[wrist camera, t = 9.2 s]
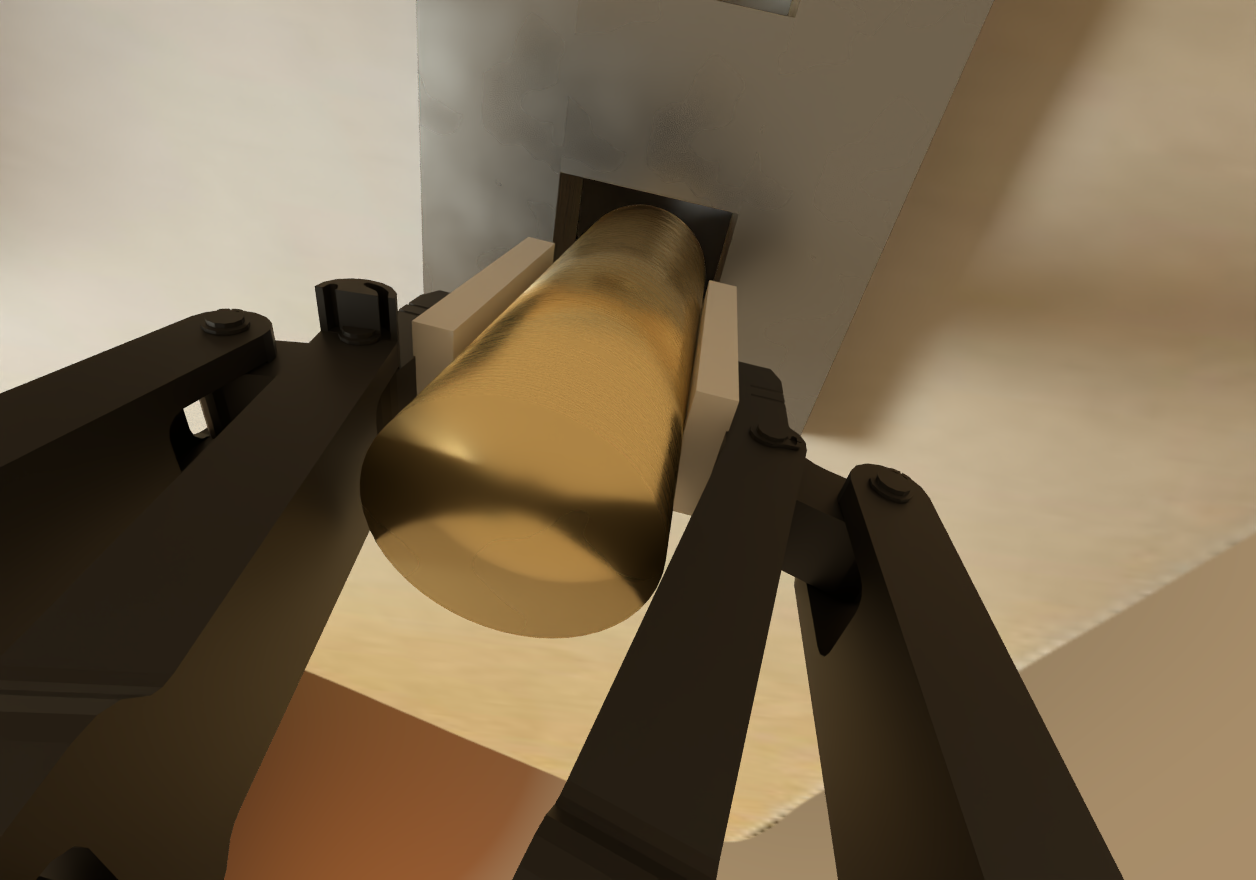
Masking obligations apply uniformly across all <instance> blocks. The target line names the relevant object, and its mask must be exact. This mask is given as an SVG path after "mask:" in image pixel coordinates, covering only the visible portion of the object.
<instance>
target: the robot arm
mask: <svg viewBox="0 0 1256 880" xmlns="http://www.w3.org/2000/svg"><path fill="white" fill-rule="evenodd" d="M554 247H555V243H552V242H548V241H544V240H540V239H535V238H531V237H527V238H526V239H525V240H523V241H522V242H521V243H519V244H518V245H516V246H515V247H514V248H512V249H511V250H509V251H508V252H507V253H505V254H504V255H502V256H501V257H500V258H498V259H497V260H496V261H494V262H493V263H491V264H490V265H489V266H487V267H486V268H484V269H483V270H482V271H480V272H479V273H478V274H476V275H475V276H473V277H472V278H471V279H469V280H468V281H466V282H465V283H464V284H462V285H461V286H460V287H458V288H457V289H455V290H454V291H453V292H451V293H449V292H445V291H441V290H438V291H434V292H430V293H427V294H423V295H420V296H419V297H417V298H415V299H414V300H412V301H411V302H409V305H407V304H406V305H405V306H403V307H402V308H400V309H399V311H398V309H397V293H396V292H395V291H394V290H393V288H392V287H389V286H387V285H385V284H383V283H380V282H375V281H371V280H365V279H353V278H351V279H335V280H330V281H326V282H322V283H320V284H318V285H316V286H315V292H316V299H317V306H318V313H319V320H320V327H321V331H320V332H319V333H318V334H317V335H316V336H315V337H314V338H313V339H312V340H311V341H310V342H309V343H301V342H288V341H276V340H275V337H274V332H273V327H272V323H271V322H270V320H269V319H268V318H267V317H265V316H262V315H260V314H257V313H253V312H247V311H243V310H241V309H232V310H230V309H219V310H217V311H212V312H205V313H201V314H198V315H194V316H191V317H188V318H186V319H183V320H181V321H178V322H176V323H174V324H171V325H169V326H166V327H164V328H161V329H159V330H156V331H154V332H151V333H149V334H146V335H144V336H141V337H139V338H136V339H134V340H131V341H129V342H127V343H124V344H122V345H119V346H117V347H114V348H112V349H109V350H107V351H104V352H102V353H99V354H97V355H94V356H92V357H89V358H87V359H85V360H82V361H80V362H77V363H75V364H72V365H70V366H67V367H65V368H62V369H60V370H57V371H55V372H52V373H50V374H47V375H45V376H43V377H40V378H38V379H35V380H33V381H30V382H28V383H25V384H23V385H20V386H18V387H15V388H13V389H10V390H8V391H5V392H3V393H0V880H224V877H225V873H226V868H227V860H228V851H229V843H230V837H231V833H232V829H233V826H234V823H235V820H236V818H237V815H238V813H239V810H240V808H241V806H242V803H243V801H244V799H245V797H246V795H247V793H248V790H249V788H250V786H251V784H252V782H253V780H254V778H255V775H256V773H257V771H258V769H259V767H260V765H261V763H262V760H263V758H264V756H265V754H266V752H267V750H268V748H269V745H270V743H271V741H272V739H273V737H274V735H275V733H276V730H277V728H278V726H279V724H280V721H281V720H282V717H283V715H284V713H285V711H286V709H287V707H288V704H289V702H290V700H291V698H292V696H293V694H294V692H295V690H296V687H297V685H298V683H299V681H300V679H301V676H302V675H303V672H304V670H305V668H306V666H307V664H308V662H309V659H310V657H311V655H312V653H313V651H314V649H315V647H316V644H317V642H318V640H319V638H320V636H321V634H322V632H323V629H324V627H325V625H326V623H327V621H328V619H329V616H330V614H331V612H332V610H333V608H334V606H335V604H336V601H337V599H338V597H339V595H340V593H341V591H342V589H343V586H344V584H345V582H346V580H347V578H348V576H349V574H350V571H351V569H352V567H353V565H354V563H355V561H356V558H357V556H358V554H359V552H360V550H361V548H362V546H363V543H364V541H365V539H366V537H367V535H368V533H369V531H370V529H369V527H368V524H367V521H366V518H365V516H364V513H363V508H362V503H361V498H360V476H361V469H362V464H363V462H364V459H365V456H366V453H367V451H368V449H369V447H370V446H371V444H372V442H373V440H374V439H375V437H376V436H377V435H378V434H379V433H380V432H381V431H382V429H383V428H384V427H385V426H386V425H387V424H388V423H389V422H390V421H391V420H392V419H393V418H394V417H395V416H396V415H397V414H398V413H399V412H401V411H402V410H403V409H404V408H405V407H406V406H407V405H408V404H409V403H410V402H411V401H412V400H413V399H414V398H415V397H416V396H417V395H418V394H419V393H420V392H421V391H422V390H423V389H424V388H425V387H426V386H427V385H428V384H429V383H430V382H431V381H432V380H434V379H435V378H436V377H437V376H438V375H439V374H440V373H441V372H442V371H443V370H444V369H445V368H446V367H447V366H448V365H449V364H450V363H451V362H452V361H453V360H454V359H455V358H456V357H457V356H458V355H459V354H460V353H461V352H462V351H463V350H464V349H465V348H466V347H468V346H469V345H470V344H471V343H472V342H473V341H474V340H475V339H476V338H477V337H478V336H479V335H480V334H481V333H482V332H483V331H484V330H485V329H486V328H487V327H488V326H489V325H490V324H491V323H492V322H493V321H494V320H495V319H496V318H497V317H498V316H499V315H500V314H502V313H503V312H504V311H505V310H506V309H507V308H508V307H509V306H510V305H511V304H512V303H513V302H514V301H515V300H516V299H517V298H518V297H519V296H520V295H521V294H522V293H523V292H524V291H525V290H526V289H527V288H528V287H529V286H530V285H531V284H532V283H533V282H535V281H536V280H537V279H538V278H539V277H540V276H541V275H542V274H543V273H544V272H545V271H546V270H547V269H548V268H549V267H550V266H551V265H552V264H553V256H554ZM198 400H199V401H200V404H201V408H202V411H203V414H204V418H205V421H206V424H207V428H206V429H204V430H203V431H201V432H200V433H197V434H194V435H193V433H192V432H191V431H190V429H189V426H188V422H187V419H186V416H185V413H184V410H183V408H185V407H187V406H189V405H190V404H192V403H194V402H196V401H198ZM784 403H785V400H784V395H783V388H782V382H781V380H780V379H779V378H778V377H777V376H776V374H775V373H774V372H773V371H772V370H771V369H768V368H764V367H760V366H756V365H752V364H748V363H744V362H740V361H738V329H737V287H736V286H732V285H728V284H723V283H719V282H715V281H711V280H709V284H708V287H707V291H706V295H705V298H704V302H703V305H702V309H701V313H700V319H699V326H698V333H697V340H696V347H695V354H694V361H693V368H692V375H691V382H690V389H689V396H688V403H687V410H686V417H685V424H684V431H683V441H682V449H681V456H680V463H679V470H678V477H677V484H676V491H675V498H674V505H673V511H676V512H679V513H683V514H687V515H691V518H690V521H689V523H688V525H687V527H686V529H685V531H684V533H683V535H682V538H681V540H680V542H679V544H678V546H677V548H676V550H675V552H674V555H673V557H672V559H671V561H670V563H669V565H668V567H667V569H666V572H665V574H664V576H663V578H662V580H661V582H660V584H659V586H658V589H657V591H656V593H655V595H654V597H653V599H652V601H651V603H650V606H649V608H648V610H647V612H646V614H645V616H644V618H643V620H642V623H641V625H640V627H639V629H638V631H637V633H636V635H635V637H634V640H633V642H632V644H631V646H630V648H629V650H628V652H627V654H626V657H625V659H624V661H623V663H622V665H621V667H620V669H619V671H618V674H617V676H616V678H615V680H614V682H613V684H612V686H611V688H610V691H609V693H608V695H607V697H606V699H605V701H604V703H603V705H602V708H601V710H600V712H599V714H598V716H597V718H596V720H595V722H594V725H593V727H592V729H591V731H590V733H589V735H588V737H587V739H586V742H585V744H584V746H583V748H582V750H581V752H580V754H579V756H578V759H577V761H576V763H575V765H574V767H573V769H572V771H571V773H570V776H569V778H568V780H567V782H566V784H565V786H564V788H563V790H562V792H561V794H560V796H559V798H558V799H557V801H556V803H555V805H554V806H553V807H552V808H551V810H550V811H549V812H548V813H547V814H546V816H545V817H544V819H543V821H542V823H541V824H540V826H539V828H538V830H537V831H536V833H535V835H534V837H533V839H532V841H531V843H530V845H529V847H528V849H527V851H526V853H525V855H524V857H523V859H522V861H521V863H520V865H519V867H518V869H517V871H516V873H515V875H514V877H513V879H512V880H716V877H717V871H718V865H719V861H720V856H721V851H722V847H723V842H724V837H725V832H726V828H727V823H728V818H729V814H730V809H731V804H732V800H733V795H734V790H735V785H736V781H737V776H738V771H739V767H740V762H741V757H742V753H743V748H744V743H745V738H746V734H747V729H748V724H749V720H750V715H751V710H752V706H753V701H754V696H755V692H756V687H757V682H758V677H759V673H760V668H761V663H762V659H763V654H764V649H765V645H766V640H767V635H768V630H769V626H770V621H771V616H772V612H773V607H774V602H775V598H776V593H777V588H778V583H779V579H780V574H781V570H782V571H784V572H786V573H788V574H790V575H792V576H794V577H795V582H794V587H795V594H796V600H797V607H798V614H799V620H800V627H801V634H802V641H803V647H804V654H805V661H806V667H807V674H808V681H809V688H810V694H811V701H812V708H813V715H814V721H815V728H816V735H817V741H818V748H819V755H820V762H821V768H822V775H823V782H824V788H825V795H826V802H827V808H828V815H829V821H830V829H831V835H832V842H833V849H834V856H835V862H836V869H837V876H838V880H1124V879H1123V877H1122V875H1121V873H1120V871H1119V869H1118V867H1117V865H1116V863H1115V861H1114V859H1113V857H1112V855H1111V853H1110V851H1109V849H1108V847H1107V845H1106V843H1105V841H1104V839H1103V838H1102V835H1101V834H1100V832H1099V830H1098V828H1097V826H1096V824H1095V822H1094V820H1093V818H1092V816H1091V814H1090V812H1089V810H1088V808H1087V806H1086V804H1085V802H1084V801H1083V798H1082V796H1081V794H1080V792H1079V790H1078V788H1077V787H1076V784H1075V783H1074V781H1073V779H1072V777H1071V775H1070V773H1069V771H1068V769H1067V767H1066V765H1065V763H1064V761H1063V759H1062V757H1061V755H1060V753H1059V751H1058V749H1057V747H1056V745H1055V743H1054V741H1053V739H1052V737H1051V735H1050V734H1049V731H1048V730H1047V728H1046V726H1045V724H1044V722H1043V720H1042V718H1041V716H1040V714H1039V712H1038V710H1037V708H1036V706H1035V704H1034V702H1033V700H1032V698H1031V696H1030V694H1029V692H1028V690H1027V689H1026V686H1025V685H1024V682H1023V681H1022V679H1021V677H1020V675H1019V673H1018V671H1017V669H1016V667H1015V665H1014V663H1013V661H1012V659H1011V657H1010V655H1009V653H1008V651H1007V649H1006V647H1005V645H1004V643H1003V641H1002V639H1001V637H1000V635H999V633H998V631H997V629H996V627H995V626H994V624H993V622H992V620H991V618H990V616H989V614H988V612H987V610H986V608H985V606H984V604H983V602H982V600H981V598H980V596H979V594H978V592H977V590H976V588H975V586H974V584H973V582H972V580H971V578H970V576H969V575H968V573H967V571H966V569H965V567H964V565H963V563H962V561H961V559H960V557H959V555H958V553H957V551H956V549H955V547H954V545H953V543H952V541H951V539H950V537H949V535H948V533H947V531H946V529H945V527H944V525H943V523H942V522H941V520H940V518H939V516H938V514H937V512H936V510H935V508H934V506H933V504H932V502H931V500H930V498H929V497H928V495H927V494H926V493H925V491H924V490H923V489H922V488H921V487H920V486H919V485H918V484H916V483H915V482H914V481H913V480H911V478H910V477H908V476H907V475H905V474H903V473H902V474H901V473H900V471H897V470H895V469H892V468H887V467H884V466H881V465H874V464H862V465H857V466H855V467H854V468H853V469H852V470H851V472H850V473H849V475H848V477H847V479H846V478H844V477H841V476H839V475H837V474H834V473H832V472H830V471H828V470H825V469H823V468H821V467H820V466H818V465H816V464H814V463H812V462H811V461H810V460H808V459H807V458H805V457H806V452H807V449H806V443H805V441H804V440H803V439H802V437H801V436H800V435H799V434H798V433H797V432H795V431H794V430H792V429H791V428H790V427H789V424H788V418H787V412H786V406H785V404H784Z"/></svg>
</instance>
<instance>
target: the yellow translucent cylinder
mask: <svg viewBox="0 0 1256 880" xmlns="http://www.w3.org/2000/svg"><path fill="white" fill-rule="evenodd" d="M705 276H706V269H705V260H704V255H703V252H702V249H701V246H700V244H699V242H698V240H697V238H696V236H695V235H694V233H693V232H692V231H691V229H690V228H689V227H688V226H687V225H686V224H685V223H684V222H683V221H682V220H681V219H680V218H678V217H677V216H675V215H674V214H672V213H671V212H668V211H666V210H664V209H662V208H659V207H655V206H650V205H640V204H635V205H627V206H624V207H620V208H617V209H615V210H612V211H610V212H609V213H607V214H605V215H604V216H602V217H601V218H600V219H599V220H598V221H596V222H595V223H594V224H593V225H592V226H591V227H590V228H589V229H588V230H587V231H586V232H585V233H584V234H583V235H582V236H581V237H580V238H579V239H578V240H577V241H576V242H575V243H574V244H573V245H572V246H571V247H570V248H569V249H567V250H566V251H565V252H564V253H563V254H562V255H561V256H560V257H559V258H558V259H557V260H556V261H555V262H554V263H553V264H552V265H551V266H550V267H549V268H548V269H547V270H546V271H545V272H544V273H543V274H542V275H541V276H540V277H539V278H538V279H537V280H536V281H535V282H533V283H532V284H531V285H530V286H529V287H528V288H527V289H526V290H525V291H524V292H523V293H522V294H521V295H520V296H519V297H518V298H517V299H516V300H515V301H514V302H513V303H512V304H511V305H510V306H509V307H508V308H507V309H506V310H505V311H504V312H503V313H502V314H500V315H499V316H498V317H497V318H496V319H495V320H494V321H493V322H492V323H491V324H490V325H489V326H488V327H487V328H486V329H485V330H484V331H483V332H482V333H481V334H480V335H479V336H478V337H477V338H476V339H475V340H474V341H473V342H472V343H471V344H470V345H469V346H468V347H466V348H465V349H464V350H463V351H462V352H461V353H460V354H459V355H458V356H457V357H456V358H455V359H454V360H453V361H452V362H451V363H450V364H449V365H448V366H447V367H446V368H445V369H444V370H443V371H442V372H441V373H440V374H439V375H438V376H437V377H436V378H435V379H434V380H432V381H431V382H430V383H429V384H428V385H427V386H426V387H425V388H424V389H423V390H422V391H421V392H420V393H419V394H418V395H417V396H416V397H415V398H414V399H413V400H412V401H411V402H410V403H409V404H408V405H407V406H406V407H405V408H404V409H403V410H402V411H401V412H399V413H398V414H397V415H396V416H395V417H394V418H393V419H392V420H391V421H390V422H389V423H388V424H387V425H386V426H385V427H384V428H383V429H382V431H381V432H380V433H379V434H378V435H377V436H376V437H375V439H374V440H373V442H372V444H371V446H370V447H369V449H368V451H367V453H366V456H365V459H364V462H363V464H362V469H361V476H360V498H361V503H362V508H363V513H364V516H365V518H366V521H367V524H368V527H369V529H370V531H371V533H372V535H373V537H374V539H375V541H376V543H377V544H378V546H379V547H380V549H381V550H382V552H383V553H384V555H385V556H386V557H387V559H388V560H389V561H390V562H391V563H392V565H393V566H394V567H395V568H396V569H397V570H398V571H399V572H400V573H401V574H402V575H403V576H404V577H405V578H406V579H407V580H408V581H409V582H410V583H411V584H412V585H413V586H415V587H416V588H417V589H418V590H419V591H420V592H422V593H423V594H424V595H426V596H427V597H429V598H430V599H432V600H433V601H434V602H436V603H437V604H439V605H441V606H443V607H444V608H446V609H448V610H449V611H451V612H453V613H455V614H457V615H459V616H461V617H463V618H465V619H467V620H470V621H472V622H475V623H477V624H480V625H482V626H485V627H488V628H492V629H495V630H498V631H502V632H506V633H511V634H515V635H521V636H528V637H535V638H569V637H576V636H583V635H588V634H592V633H596V632H599V631H602V630H605V629H607V628H610V627H613V626H615V625H617V624H619V623H620V622H622V621H624V620H626V619H628V618H629V617H630V616H632V615H633V614H634V613H635V612H637V611H638V610H639V609H640V608H641V607H642V606H643V605H644V604H645V603H646V602H647V601H648V600H649V599H650V597H651V596H652V594H653V593H654V591H655V590H656V588H657V586H658V584H659V581H660V579H661V577H662V574H663V570H664V566H665V561H666V555H667V548H668V541H669V534H670V527H671V520H672V512H673V505H674V498H675V491H676V484H677V477H678V470H679V463H680V456H681V449H682V441H683V431H684V424H685V417H686V410H687V403H688V396H689V389H690V382H691V375H692V368H693V361H694V354H695V347H696V340H697V333H698V326H699V319H700V313H701V307H702V300H703V293H704V285H705Z"/></svg>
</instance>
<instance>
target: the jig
mask: <svg viewBox="0 0 1256 880" xmlns="http://www.w3.org/2000/svg"><path fill="white" fill-rule="evenodd" d="M993 1H994V0H792V2H791V5H790V9H789V13H788V16H784V15H780V14H775V13H771V12H766V11H762V10H757V9H753V8H748V7H744V6H739V5H735V4H730V3H726V2H722V1H717V0H416V18H417V56H418V94H419V132H420V170H421V208H422V246H423V284H424V294H427V293H430V292H434V291H438V290H441V291H445V292H449V293H451V292H453V291H454V290H455V289H457V288H458V287H460V286H461V285H462V284H464V283H465V282H466V281H468V280H469V279H471V278H472V277H473V276H475V275H476V274H478V273H479V272H480V271H482V270H483V269H484V268H486V267H487V266H489V265H490V264H491V263H493V262H494V261H496V260H497V259H498V258H500V257H501V256H502V255H504V254H505V253H507V252H508V251H509V250H511V249H512V248H514V247H515V246H516V245H518V244H519V243H521V242H522V241H523V240H525V239H526V238H527V237H531V238H535V239H540V240H544V241H548V242H552V243H555V247H554V256H553V263H554V262H555V261H556V260H557V259H558V258H559V257H560V256H561V255H562V254H563V253H564V252H565V251H566V250H567V249H569V248H570V247H571V246H572V245H573V244H574V243H575V241H576V233H577V225H578V217H579V210H580V202H581V194H582V186H583V179H584V178H588V179H592V180H596V181H601V182H605V183H609V184H613V185H618V186H622V187H626V188H631V189H635V190H639V191H643V192H648V193H652V194H656V195H660V196H665V197H669V198H673V199H678V200H682V201H686V202H690V203H695V204H699V205H703V206H707V207H712V208H716V209H720V210H724V211H729V212H732V216H731V220H730V223H729V227H728V230H727V234H726V237H725V241H724V245H723V248H722V252H721V255H720V259H719V262H718V266H717V270H716V273H715V277H714V280H713V281H715V282H719V283H723V284H728V285H732V286H736V287H737V329H738V361H740V362H744V363H748V364H752V365H756V366H760V367H764V368H768V369H771V370H772V371H773V372H774V373H775V374H776V376H777V377H778V378H779V379H780V380H781V382H782V388H783V395H784V400H785V403H784V404H785V406H786V412H787V418H788V424H789V427H790V428H791V429H792V430H794V431H795V432H797V433H798V434H799V435H801V433H802V431H803V429H804V426H805V424H806V422H807V420H808V417H809V415H810V413H811V411H812V408H813V406H814V404H815V402H816V399H817V397H818V395H819V393H820V390H821V388H822V386H823V384H824V381H825V379H826V377H827V375H828V372H829V370H830V368H831V366H832V363H833V361H834V359H835V357H836V354H837V352H838V350H839V348H840V345H841V343H842V341H843V339H844V336H845V334H846V332H847V330H848V327H849V325H850V323H851V321H852V318H853V316H854V314H855V312H856V309H857V307H858V305H859V303H860V300H861V298H862V296H863V294H864V291H865V289H866V287H867V285H868V282H869V280H870V278H871V276H872V274H873V271H874V269H875V267H876V265H877V262H878V260H879V258H880V256H881V253H882V251H883V249H884V247H885V244H886V242H887V240H888V238H889V235H890V233H891V231H892V229H893V226H894V224H895V222H896V220H897V217H898V215H899V213H900V211H901V208H902V206H903V204H904V202H905V199H906V197H907V195H908V193H909V190H910V188H911V186H912V184H913V181H914V179H915V177H916V175H917V172H918V170H919V168H920V166H921V163H922V161H923V159H924V157H925V154H926V152H927V150H928V148H929V145H930V143H931V141H932V139H933V136H934V134H935V132H936V130H937V127H938V125H939V123H940V121H941V118H942V116H943V114H944V112H945V109H946V107H947V105H948V103H949V100H950V98H951V96H952V94H953V91H954V89H955V87H956V85H957V82H958V80H959V78H960V76H961V73H962V71H963V69H964V67H965V64H966V62H967V60H968V58H969V55H970V53H971V51H972V49H973V46H974V44H975V42H976V40H977V37H978V35H979V33H980V31H981V28H982V26H983V24H984V22H985V19H986V17H987V15H988V13H989V10H990V8H991V6H992V4H993Z"/></svg>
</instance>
